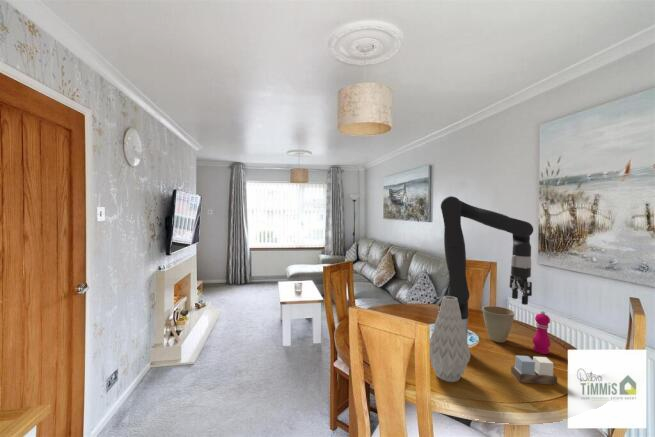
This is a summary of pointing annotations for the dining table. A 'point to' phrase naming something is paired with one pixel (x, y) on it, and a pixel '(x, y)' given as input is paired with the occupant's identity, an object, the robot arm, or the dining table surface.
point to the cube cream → (543, 366)
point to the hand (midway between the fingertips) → (519, 301)
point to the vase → (449, 342)
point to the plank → (533, 377)
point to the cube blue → (524, 364)
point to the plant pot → (498, 322)
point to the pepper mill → (542, 334)
